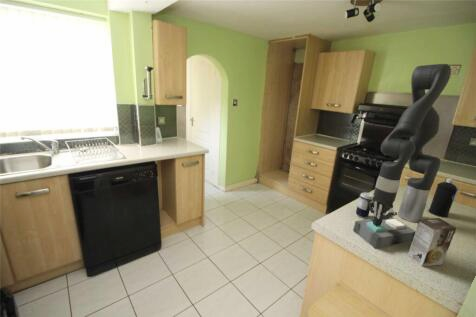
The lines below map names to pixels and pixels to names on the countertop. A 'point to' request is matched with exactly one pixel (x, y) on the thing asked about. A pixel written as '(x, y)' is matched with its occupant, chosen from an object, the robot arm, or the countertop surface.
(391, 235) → the key console
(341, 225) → the countertop surface
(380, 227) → the teal key
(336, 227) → the countertop surface
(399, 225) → the cream key
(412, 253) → the coffee box
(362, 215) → the beverage can
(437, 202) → the aerosol can
